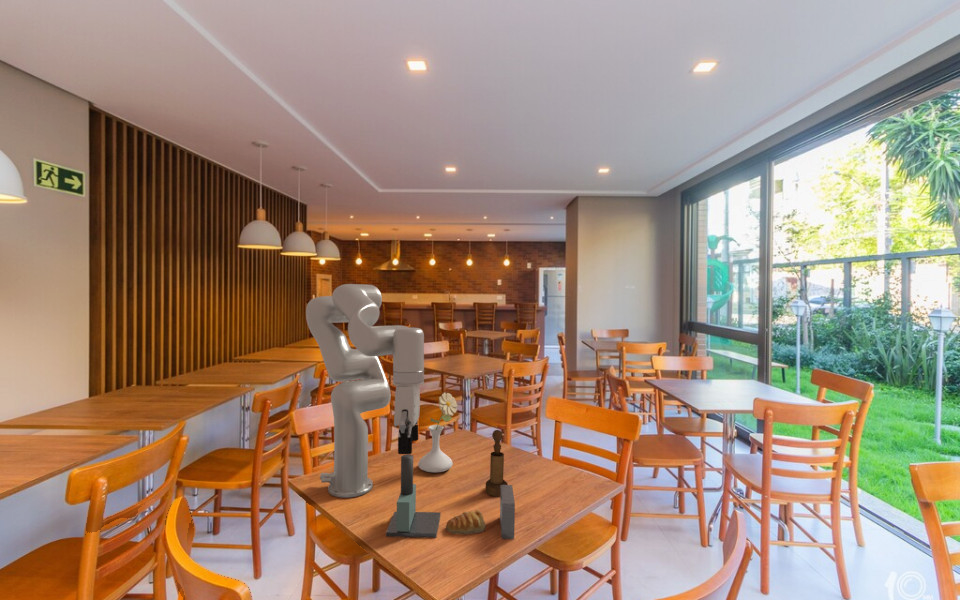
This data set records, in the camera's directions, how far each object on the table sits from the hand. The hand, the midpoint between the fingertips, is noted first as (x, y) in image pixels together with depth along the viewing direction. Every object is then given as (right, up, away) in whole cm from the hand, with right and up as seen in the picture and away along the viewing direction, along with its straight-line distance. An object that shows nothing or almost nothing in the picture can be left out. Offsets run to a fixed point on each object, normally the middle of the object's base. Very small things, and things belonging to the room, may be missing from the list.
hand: (408, 446), depth 108 cm
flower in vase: (+4, -20, +37) cm, 42 cm away
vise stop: (+24, -20, 0) cm, 32 cm away
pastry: (+15, -21, 0) cm, 25 cm away
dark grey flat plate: (+1, -20, +1) cm, 20 cm away
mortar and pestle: (+23, -20, +21) cm, 36 cm away
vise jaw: (-1, -19, +1) cm, 19 cm away
